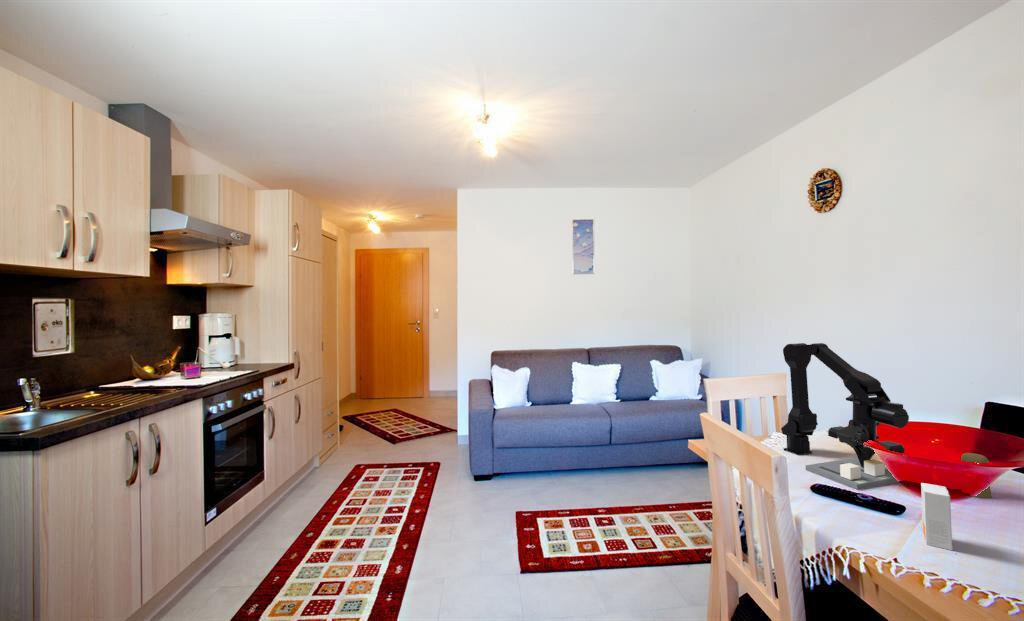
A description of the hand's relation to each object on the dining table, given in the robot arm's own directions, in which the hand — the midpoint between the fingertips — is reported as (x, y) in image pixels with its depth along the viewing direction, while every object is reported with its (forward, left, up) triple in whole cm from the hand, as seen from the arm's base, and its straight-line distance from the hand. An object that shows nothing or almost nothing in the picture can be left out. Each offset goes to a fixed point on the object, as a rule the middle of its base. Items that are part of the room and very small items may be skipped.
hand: (863, 467), depth 131 cm
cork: (+19, +15, -3) cm, 24 cm away
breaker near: (+3, -9, -1) cm, 9 cm away
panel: (-1, 0, -3) cm, 3 cm away
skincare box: (+32, -23, -3) cm, 39 cm away
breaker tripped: (+3, 0, -1) cm, 3 cm away
